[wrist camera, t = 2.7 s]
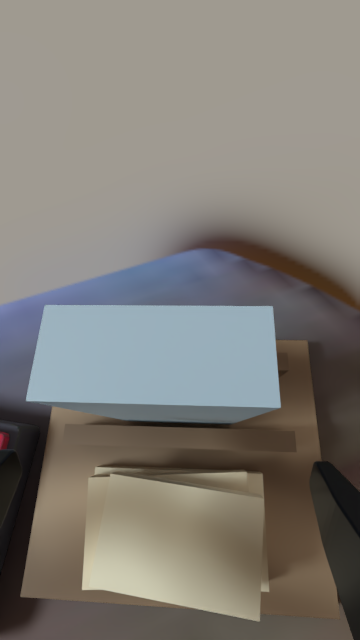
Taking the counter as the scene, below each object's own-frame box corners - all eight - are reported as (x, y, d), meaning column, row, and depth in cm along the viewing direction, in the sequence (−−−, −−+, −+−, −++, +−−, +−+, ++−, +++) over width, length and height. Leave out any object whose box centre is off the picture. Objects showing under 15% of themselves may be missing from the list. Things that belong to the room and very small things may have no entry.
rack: (330, 606, 16) (365, 652, 13) (31, 586, 17) (-10, 623, 14) (301, 345, 21) (321, 328, 17) (71, 342, 22) (47, 325, 19)
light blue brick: (230, 424, 18) (280, 407, 7) (130, 421, 19) (25, 401, 7) (229, 381, 19) (272, 306, 8) (133, 380, 19) (44, 305, 8)
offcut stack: (264, 585, 15) (281, 623, 12) (89, 574, 16) (63, 607, 13) (258, 468, 17) (271, 475, 14) (101, 462, 18) (81, 467, 15)
